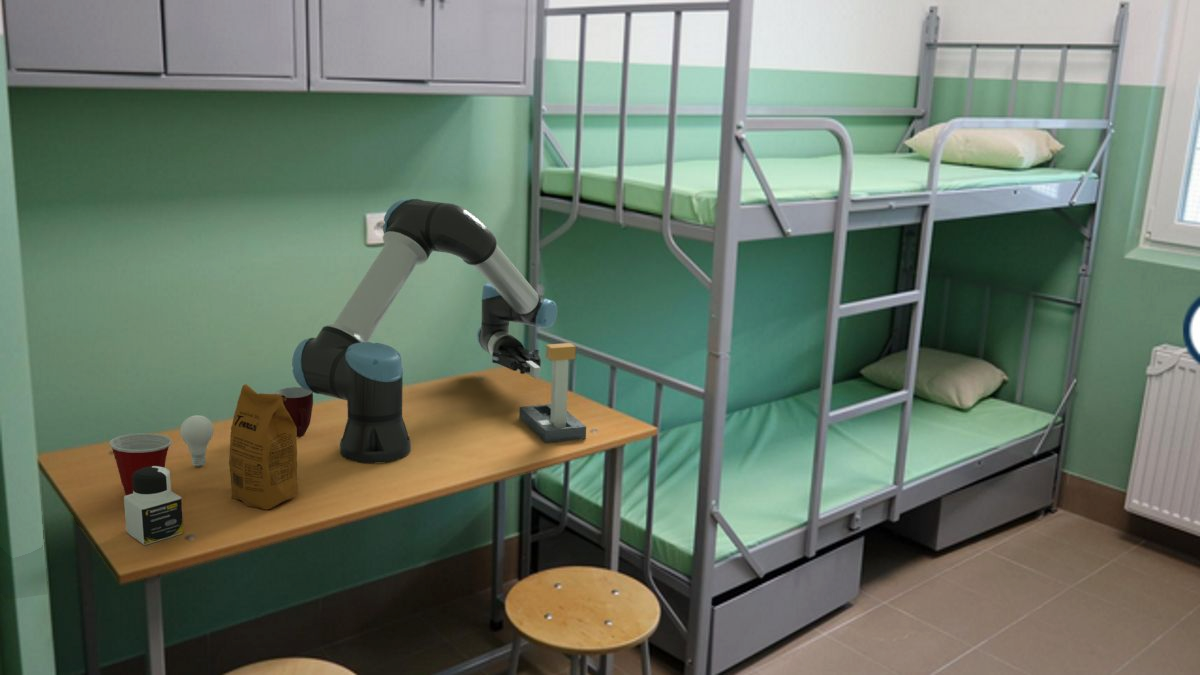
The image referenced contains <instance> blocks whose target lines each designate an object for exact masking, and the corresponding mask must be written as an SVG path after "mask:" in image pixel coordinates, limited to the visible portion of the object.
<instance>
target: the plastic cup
mask: <svg viewBox="0 0 1200 675" xmlns="http://www.w3.org/2000/svg"><path fill="white" fill-rule="evenodd" d="M172 442H173V439H172V438H171V437H170V436H166V435H164V434H160V433H159V434H158V433H151V432H150V433H148V432H147V433H145V432H141V433H140V432H138V433H128V434H123V435H119V436H116V437H114V438H112V439H110V441H109V442H108V445H109V446H110V448H111V450H112V454H113V456H114V459H115V463H116V466H117V469H118V470H117V471H118V474H119V477H120V482H121V485H122V487H123V490H124V491H123V492H124V494H125V495H124V496H126V495H130V494H133V483H132V475H133V473H134V472H135V471H137V470H139V469H142V468H145V467H150V466H159V467H164V468H166V462H167V460H166V459H167V455H168V451H169V448H170V447H171V445H172Z"/></svg>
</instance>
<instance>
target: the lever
mask: <svg viewBox="0 0 1200 675" xmlns="http://www.w3.org/2000/svg"><path fill="white" fill-rule="evenodd" d="M576 348H577V346H576V345H574V344H573V343H571V342H564V343H563V342H562V343H551V344H548V343H547V344H546V345H545V358H546V359H547V360H549V361H551V362H552V364H551V389H550V390H551V394H550V395H551V396H550V404H551V421H550V422H551V423H552V424H553V425H554V426H556V427H557V428H561V427H566V415H567V411H568V410H567V407H568V382H569V381H568V380H569V378H568V377H569V360H575V359H576Z"/></svg>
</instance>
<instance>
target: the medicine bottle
mask: <svg viewBox="0 0 1200 675" xmlns="http://www.w3.org/2000/svg"><path fill="white" fill-rule="evenodd" d="M170 472H171V471H170V470H169V469H168V468H166V467H165V468H164V467H159V466H150V467H145V468H142V469H139V470H137V471H135V472H134V473H133V475H132V483H133V494H130V495H124V496H123V503H124V504H123V505H124V516H125V528H126V533H127V534H128V535H129V536H131V538H134V539H135V540H137V541H138V542H139V543H141V544H142V545H144V546H148V545H151V544H153V543H157V542H160V541H163V540H167V539H171V538H173V537H177V536H180V535H182V534H183V533H184V519H183V517H184V516H183V506H182V505H183V504H182V496H180V495H179V494H176V493H175V492H173V490H172V488H171V473H170Z"/></svg>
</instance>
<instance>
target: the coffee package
mask: <svg viewBox="0 0 1200 675" xmlns="http://www.w3.org/2000/svg"><path fill="white" fill-rule="evenodd" d="M283 401H286V397H285V396H284V395H282V394H276V393H261V392H259V393H258V392H257V391H255V390H254V389H253V388H252V387H251V386H250V385H248V384H247V383H246V384H242V387H241V390H240V394H239V396H238V399H237V401H236V402H237V404H236V408H235V411H234V414H233V419H232V424H231V427H230V440H229V442H230V443H229V452H228V453H229V455H228V467H229V472H230V474H229V476H230V493H231V496H230V497H231V499H234V500H241V501H242V502H243V503H244V504H245V505H246V506H248V507H250V508H257V509H263V510H271V509H273V508H274V507H277V506H278V505H280V504H281V503H283V502H284V501H288V500H291V499H293V498H295V497H296V496H297V495H299V485H298V484H299V483H298V480H299V478H298V466H299V465H298V443H297V439H298V437H297V428H296V426H295V424H294V422H293V420H292V418H291V417H290V415H289V413H288V412H287V410H286V408H285V406H284V404H283Z"/></svg>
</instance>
